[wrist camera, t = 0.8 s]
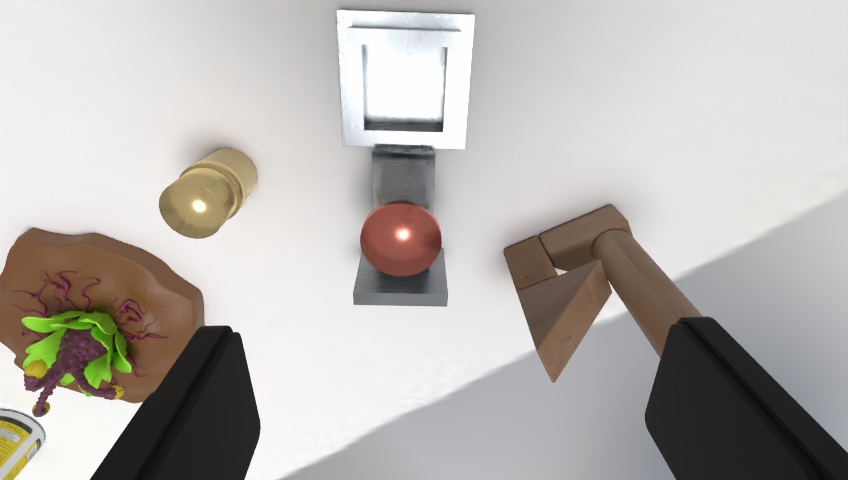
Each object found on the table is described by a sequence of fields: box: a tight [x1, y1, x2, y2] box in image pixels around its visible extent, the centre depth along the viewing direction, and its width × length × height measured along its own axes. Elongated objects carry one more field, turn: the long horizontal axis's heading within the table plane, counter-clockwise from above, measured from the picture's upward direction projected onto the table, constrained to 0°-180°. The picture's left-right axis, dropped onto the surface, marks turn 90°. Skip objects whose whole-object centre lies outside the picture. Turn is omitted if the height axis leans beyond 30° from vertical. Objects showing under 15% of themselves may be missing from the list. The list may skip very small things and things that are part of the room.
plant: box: [0, 228, 205, 417], centre depth 42 cm, size 20×20×11 cm
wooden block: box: [504, 205, 703, 382], centre depth 35 cm, size 4×11×18 cm, turn 116°
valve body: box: [337, 10, 475, 306], centre depth 35 cm, size 21×10×8 cm, turn 178°
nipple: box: [159, 148, 257, 239], centre depth 36 cm, size 5×5×8 cm
